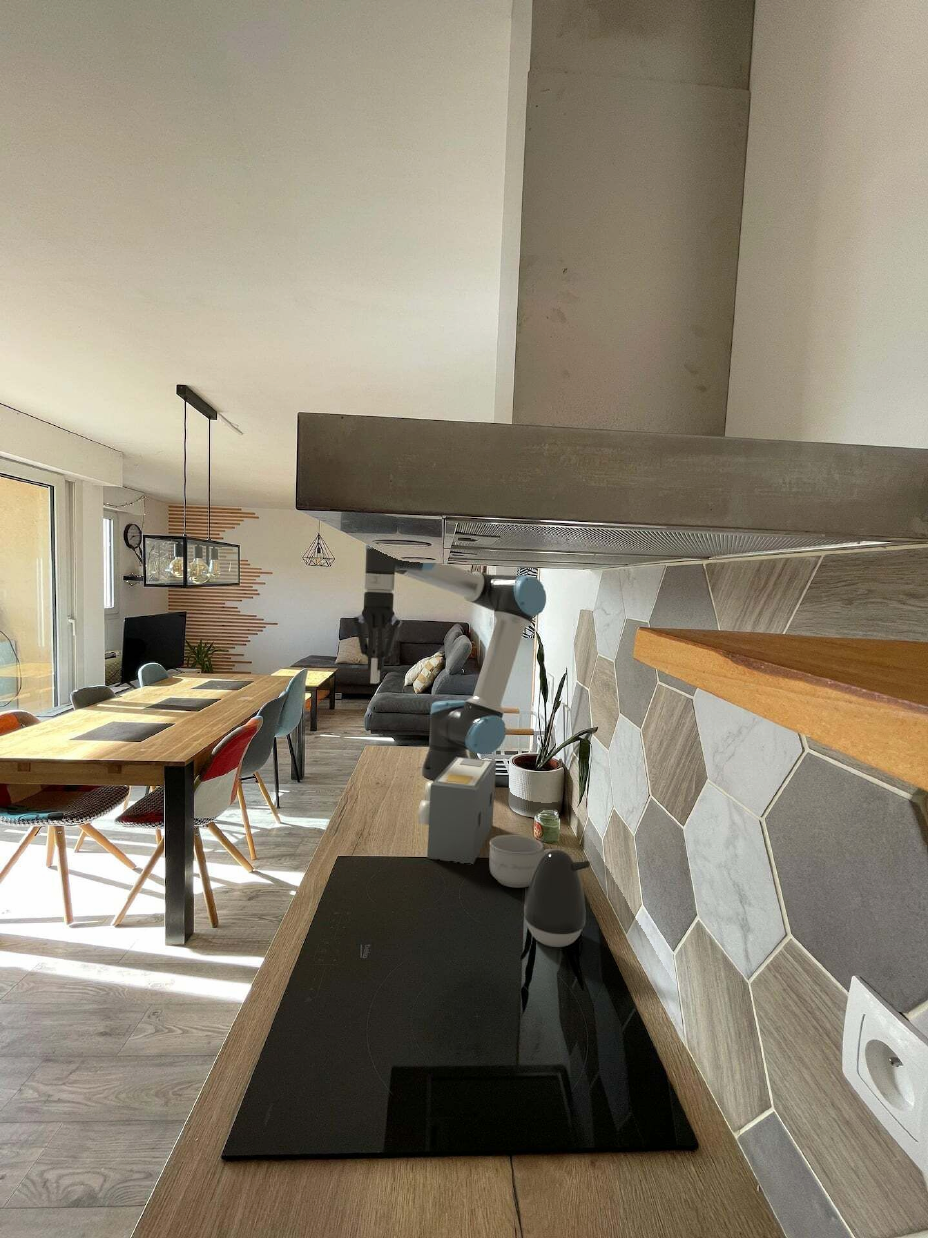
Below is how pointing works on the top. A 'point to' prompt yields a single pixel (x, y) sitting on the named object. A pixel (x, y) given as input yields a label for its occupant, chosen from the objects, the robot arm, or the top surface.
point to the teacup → (515, 859)
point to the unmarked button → (427, 791)
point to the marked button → (424, 812)
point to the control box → (461, 810)
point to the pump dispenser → (556, 900)
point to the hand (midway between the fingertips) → (374, 682)
